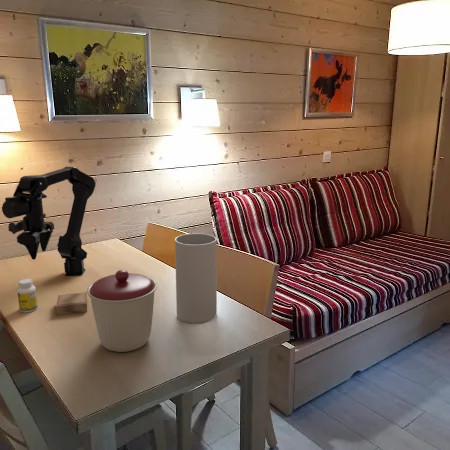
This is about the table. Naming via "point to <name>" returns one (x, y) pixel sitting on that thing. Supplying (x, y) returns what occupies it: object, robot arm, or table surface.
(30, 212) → the robot arm
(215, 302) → the cylinder vase
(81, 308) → the square wooden block
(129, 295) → the canister
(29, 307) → the supplement bottle
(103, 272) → the table surface
